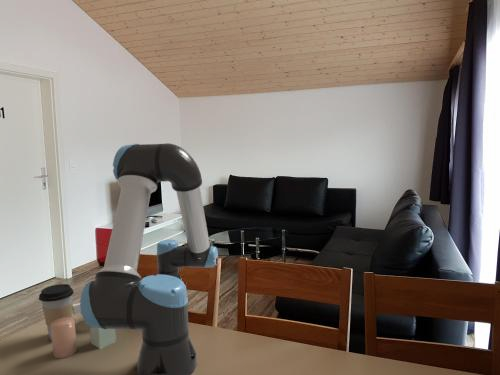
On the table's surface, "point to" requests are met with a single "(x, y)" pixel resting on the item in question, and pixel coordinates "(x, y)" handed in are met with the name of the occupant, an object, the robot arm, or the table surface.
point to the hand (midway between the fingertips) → (73, 309)
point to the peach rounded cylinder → (63, 337)
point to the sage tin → (102, 337)
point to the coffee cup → (56, 303)
